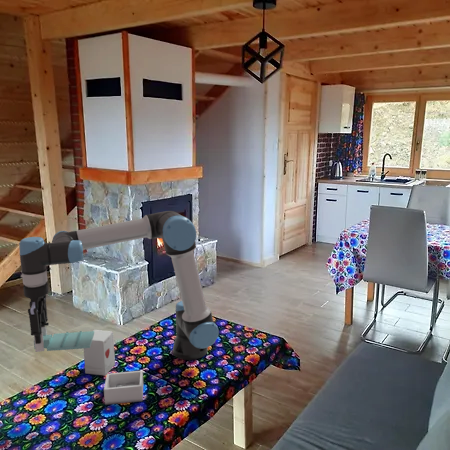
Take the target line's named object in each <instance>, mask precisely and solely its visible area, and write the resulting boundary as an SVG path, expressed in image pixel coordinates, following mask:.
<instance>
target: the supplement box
mask: <svg viewBox="0 0 450 450" xmlns="http://www.w3.org/2000/svg"><path fill="white" fill-rule="evenodd" d="M92 331H94V336H93V339H92V343H91V346H90V348H83V360H84V371H85V372H84V373H85V374H87V375H88V374H89V375H97V376H106V377H107V374H109V372H110V371H111V370H112V369H113V368H114V366H115V365H116V355H115V341H114V331H111V330H101V329H93V330H92Z"/></svg>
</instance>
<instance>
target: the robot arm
mask: <svg viewBox="0 0 450 450" xmlns="http://www.w3.org/2000/svg"><path fill="white" fill-rule="evenodd" d="M141 239H149V240H153V239H161V240H162V242H163V248H164V252H165V254H166V255H167V256H169V257H170V258H171V262H172V266H173V269H174V270H173V271H174V274H175V277H176V282H177V285H178V286H177V287H178V290H179V294H180V298H181V300H180V301H178V302H177V303H176V304H175V328H176V330H175V331H176V336H175V338H174V339H175V340H174V342H173V346H172V353H173V355H174V357H176V358H177V359H180V360H184V361H185V360H186V361H193V360H198V359H201V358H203V357H205V356H206V355H207V354H208V353H209V352H208V351H209V349H208V348H210V347H211V346H212V345H213V344H215V343H216V340H218V338H219V333H220V332H219V328H218V325H217V324H216V323H215V322H214V318H213V314H212V309H211V307H210V306H207V305H206V300H205V297H204V292H203V287H202V283H201V279H200V275H199V270H198V266H197V262H196V257H195V253H194V251H195V250H196V248H197V244H196V239H197V228H196V227H195V224H193V222H192V220H190V219H189V218H188V217H186V216H183V215H181V214H180V213H178V212H176V211H174V210H165V211H161V212H160V211H159V212H155V213H150V214H145V215H144V216H143V217H142V218H138V219H132V220H128V221H127V220H126V221H121V222H116V223H111V224H104V225H99V226H94V227H90V228H83V229H77V230H73V231H68V230H67V231H66V230H59V231H58V232H56V233H55V234H54V235H53V237H52V241H51V242H45V241H44V237H40V236H30V237H26V238H25V237H24V238H22V239H21V240H20V242H19V243H18V244H19V259H20V261H19V262H20V266H21V267H20V268H21V274H20V278H22V284H23V287H22V289H23V296H24V297H25V298H28V299H29V300H30V301H29V308H28V309H27V313H28V317H29V327H30V335H31V336H32V337H33V343H34V342H35V349H34V350H35V352H45V348H44V341H43V335H48V331H47V326H49V325H50V324H49V322H48V321H49V320H48V309H47V295H48V293H49V283H48V280H49V279H48V271H47V270H48V269H47V266H53V265H55V266H56V265H63V264H64V265H65V264H66V265H67V264H74V263H75V264H76V263H80V262H83V260H84V250H88V249H94V248H99V247H104V246H110V245H114V244H118V243H119V244H120V243H124V242H129V241H134V240H141Z"/></svg>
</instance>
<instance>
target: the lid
mask: <svg viewBox="0 0 450 450" xmlns="http://www.w3.org/2000/svg"><path fill="white" fill-rule="evenodd" d="M93 336H94V331H93V330H91V331H89V330H88V331H82V330H80V331H74V332H69V331H66V332H61V333H54V334H47V335H43V341H44V349H46V351H47V352H51V351H54V352H55V351H64V350H65V351H66V350H79V349H80V350H81V349H82V350H84V348H90V346H91V343H92V339H93ZM33 346H34V347H33V348H34V350H35V342H34V341H33Z"/></svg>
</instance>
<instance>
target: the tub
mask: <svg viewBox="0 0 450 450" xmlns="http://www.w3.org/2000/svg"><path fill="white" fill-rule="evenodd" d="M103 395H104V405H105V406H107V405H115V404H126V403H134V402H135V403H136V402H143V399H144V371H143V370H134V371H133V370H132V371H124V372H112V373H107V374H106V377H105V382H104V386H103Z"/></svg>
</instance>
